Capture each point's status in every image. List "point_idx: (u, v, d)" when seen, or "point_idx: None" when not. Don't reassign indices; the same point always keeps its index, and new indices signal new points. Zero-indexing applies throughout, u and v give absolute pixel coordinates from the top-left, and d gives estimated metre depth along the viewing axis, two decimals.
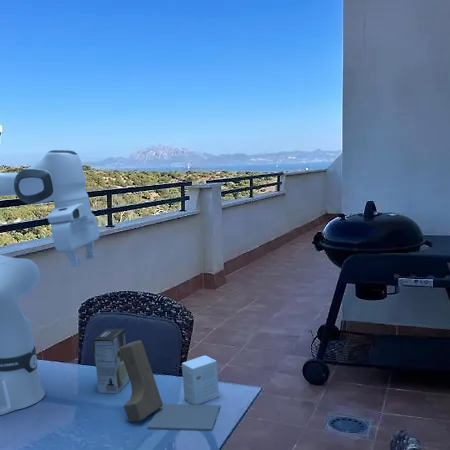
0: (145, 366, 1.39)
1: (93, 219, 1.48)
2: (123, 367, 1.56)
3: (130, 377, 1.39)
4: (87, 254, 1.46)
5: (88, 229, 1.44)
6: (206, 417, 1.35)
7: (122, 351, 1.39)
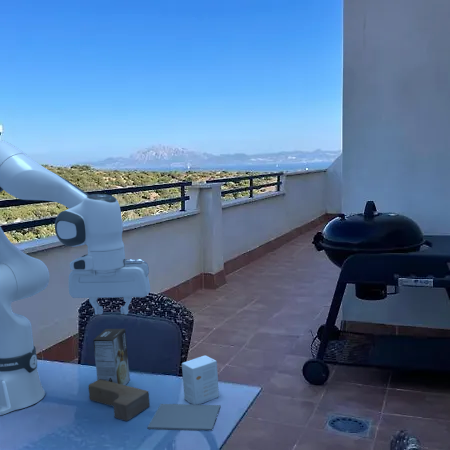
0: (111, 385, 1.47)
1: (134, 274, 1.31)
2: (123, 367, 1.56)
3: (110, 403, 1.44)
4: None
5: (116, 283, 1.32)
6: (206, 417, 1.35)
7: (91, 396, 1.48)
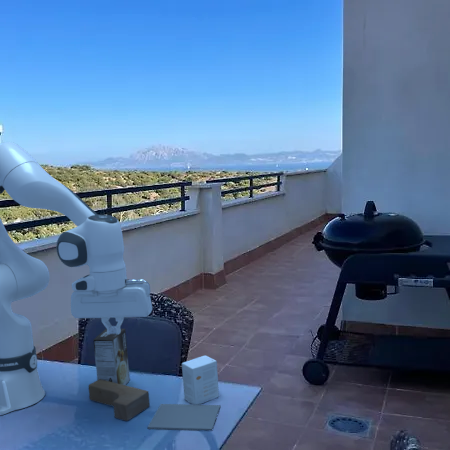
0: (111, 385, 1.47)
1: (136, 294, 1.31)
2: (123, 367, 1.56)
3: (110, 403, 1.44)
4: None
5: (118, 303, 1.32)
6: (206, 417, 1.35)
7: (91, 396, 1.48)
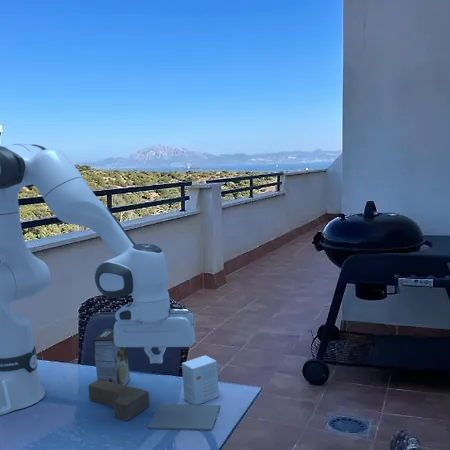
0: (111, 385, 1.47)
1: (180, 325, 1.31)
2: (123, 367, 1.56)
3: (110, 403, 1.44)
4: None
5: (162, 333, 1.32)
6: (206, 417, 1.35)
7: (91, 396, 1.48)
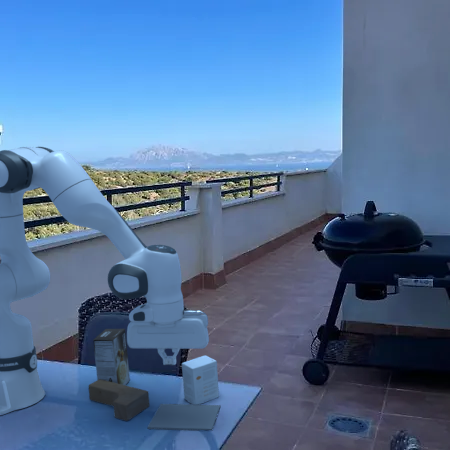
0: (111, 385, 1.47)
1: (194, 326, 1.30)
2: (123, 367, 1.56)
3: (110, 403, 1.44)
4: None
5: (176, 335, 1.31)
6: (206, 417, 1.35)
7: (91, 396, 1.48)
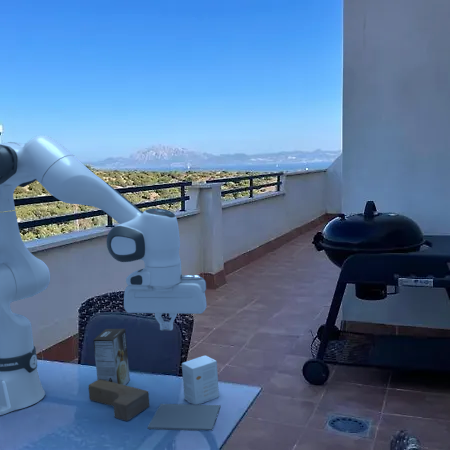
0: (111, 385, 1.47)
1: (192, 291, 1.29)
2: (123, 367, 1.56)
3: (110, 403, 1.44)
4: None
5: (173, 299, 1.30)
6: (206, 417, 1.35)
7: (91, 396, 1.48)
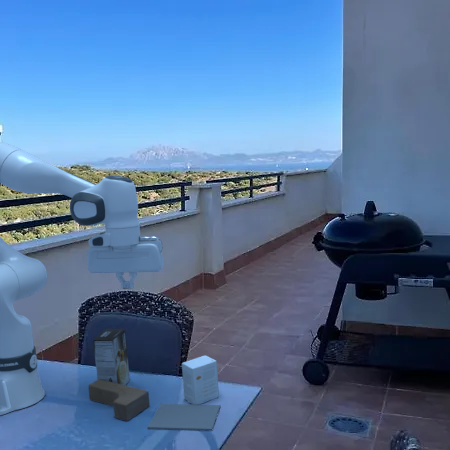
0: (111, 385, 1.47)
1: (149, 250, 1.40)
2: (123, 367, 1.56)
3: (110, 403, 1.44)
4: None
5: (132, 259, 1.41)
6: (206, 417, 1.35)
7: (91, 396, 1.48)
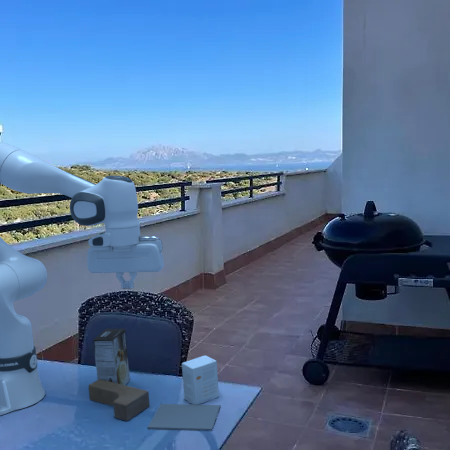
0: (111, 385, 1.47)
1: (149, 250, 1.40)
2: (123, 367, 1.56)
3: (110, 403, 1.44)
4: None
5: (132, 259, 1.41)
6: (206, 417, 1.35)
7: (91, 396, 1.48)
